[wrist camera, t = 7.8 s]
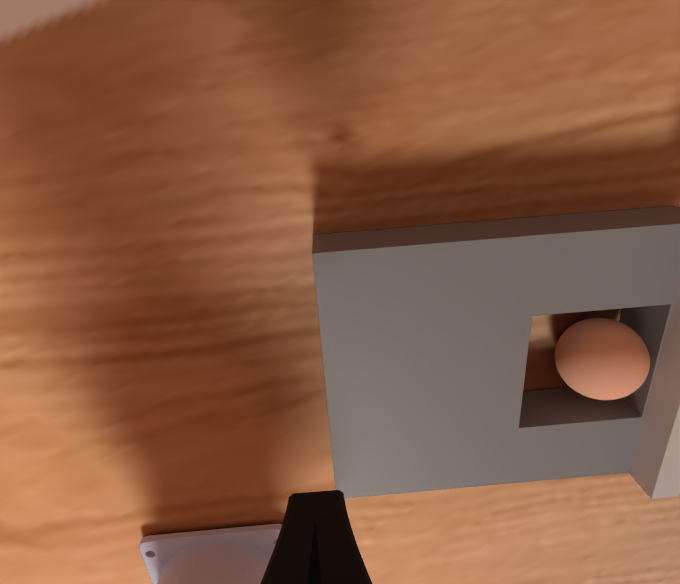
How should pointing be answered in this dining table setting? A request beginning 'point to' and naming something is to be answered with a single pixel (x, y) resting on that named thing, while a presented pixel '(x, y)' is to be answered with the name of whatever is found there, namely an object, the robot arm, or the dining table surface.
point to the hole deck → (494, 351)
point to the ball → (602, 359)
